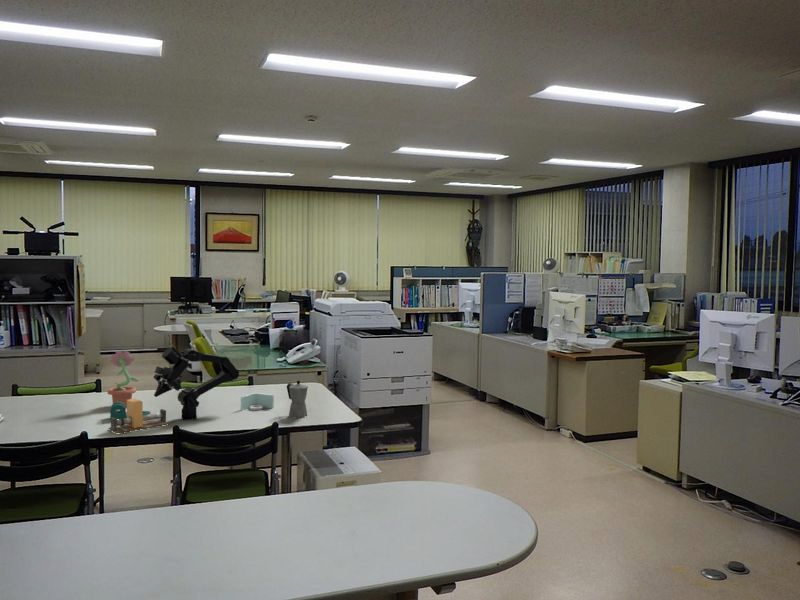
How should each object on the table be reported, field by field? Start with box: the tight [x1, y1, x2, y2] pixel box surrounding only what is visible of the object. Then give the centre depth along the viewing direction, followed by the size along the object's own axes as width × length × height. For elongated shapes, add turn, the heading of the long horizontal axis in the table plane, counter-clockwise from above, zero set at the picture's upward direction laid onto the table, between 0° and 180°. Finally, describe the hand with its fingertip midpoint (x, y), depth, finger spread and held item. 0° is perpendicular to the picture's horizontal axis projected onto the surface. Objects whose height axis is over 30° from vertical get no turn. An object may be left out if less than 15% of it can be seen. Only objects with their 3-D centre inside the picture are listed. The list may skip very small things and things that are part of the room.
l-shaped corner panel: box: [240, 392, 275, 411], centre depth 330 cm, size 12×12×8 cm
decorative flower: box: [107, 350, 139, 408], centre depth 328 cm, size 15×14×30 cm
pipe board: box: [107, 408, 170, 434], centre depth 292 cm, size 24×10×6 cm, turn 135°
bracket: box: [109, 402, 151, 420], centre depth 308 cm, size 18×7×8 cm, turn 114°
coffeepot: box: [286, 380, 308, 419], centre depth 319 cm, size 15×9×18 cm, turn 49°
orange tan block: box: [126, 398, 144, 428], centre depth 290 cm, size 4×8×12 cm, turn 45°
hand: (154, 396), depth 296 cm, fingers closed
